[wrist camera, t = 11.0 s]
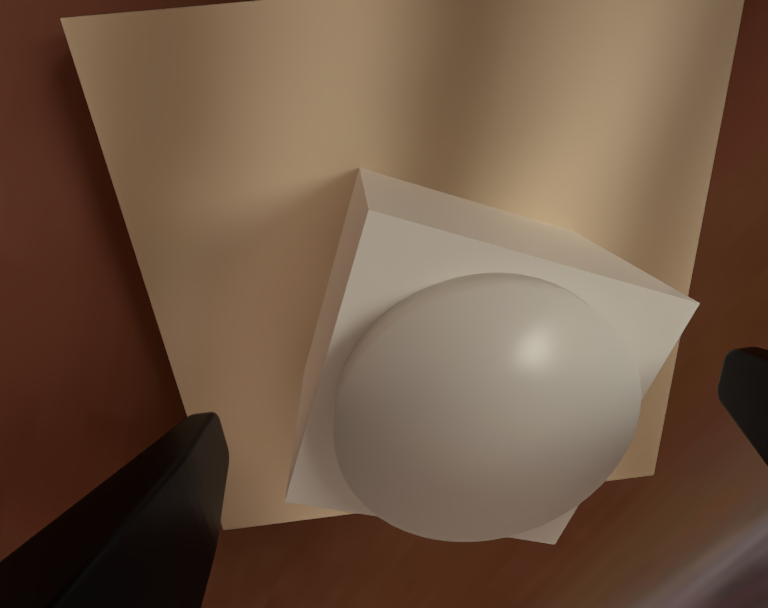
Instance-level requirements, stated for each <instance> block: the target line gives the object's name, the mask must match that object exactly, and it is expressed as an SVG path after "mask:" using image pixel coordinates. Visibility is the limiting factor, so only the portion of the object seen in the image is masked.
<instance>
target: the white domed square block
mask: <svg viewBox="0 0 768 608" xmlns="http://www.w3.org/2000/svg"><path fill="white" fill-rule="evenodd" d="M699 304H700V303H698V302H697V301H695V300H693V299H691V298H690V297H688V296H686V295H684V294H683V293H681V292H679V291H677V290H676V289H674V288H672V287H670V286H669V285H667V284H665V283H663V282H662V281H660V280H658V279H656V278H655V277H653V276H651V275H649V274H648V273H646V272H644V271H642V270H641V269H639V268H637V267H635V266H634V265H632V264H630V263H628V262H627V261H625V260H623V259H621V258H620V257H618V256H616V255H614V254H613V253H611V252H609V251H607V250H606V249H604V248H602V247H600V246H599V245H597V244H595V243H593V242H592V241H590V240H588V239H586V238H585V237H583V236H581V235H579V234H578V233H576V232H574V231H570V230H567V229H564V228H560V227H557V226H554V225H550V224H547V223H543V222H540V221H537V220H533V219H530V218H527V217H523V216H520V215H517V214H513V213H510V212H507V211H503V210H500V209H497V208H493V207H490V206H487V205H483V204H480V203H477V202H473V201H470V200H467V199H463V198H460V197H457V196H453V195H450V194H447V193H443V192H440V191H437V190H433V189H430V188H427V187H423V186H420V185H417V184H413V183H410V182H406V181H403V180H400V179H396V178H393V177H390V176H386V175H383V174H380V173H376V172H373V171H370V170H366V169H363V168H360V167H359V170H358V174H357V178H356V181H355V185H354V189H353V193H352V196H351V200H350V204H349V207H348V211H347V215H346V218H345V222H344V226H343V230H342V233H341V237H340V241H339V244H338V248H337V252H336V255H335V259H334V263H333V266H332V270H331V274H330V278H329V281H328V285H327V289H326V292H325V296H324V300H323V303H322V307H321V311H320V315H319V318H318V322H317V326H316V329H315V333H314V337H313V340H312V344H311V348H310V351H309V355H308V359H307V363H306V366H305V370H304V375H303V382H302V389H301V395H300V402H299V409H298V416H297V422H296V429H295V436H294V442H293V449H292V456H291V463H290V469H289V476H288V483H287V489H286V496H285V502H289V503H295V504H302V505H308V506H314V507H321V508H327V509H333V510H340V511H346V512H352V513H359V514H365V515H371V516H378V517H379V518H381V519H382V520H384V521H386V522H387V523H389V524H391V525H393V526H395V527H397V528H399V529H401V530H403V531H406V532H409V533H412V534H415V535H418V536H421V537H426V538H431V539H435V540H443V541H453V542H476V541H487V540H494V539H499V538H505V537H511V538H517V539H523V540H530V541H536V542H542V543H549V544H555V543H556V542H557V540H558V538H559V537H560V535H561V533H562V532H563V530H564V528H565V527H566V525H567V523H568V522H569V520H570V518H571V517H572V515H573V513H574V512H575V510H576V508H577V507H578V505H579V504H580V503H581V502H583V501H584V500H585V499H587V498H588V497H589V496H590V495H591V494H592V493H593V492H594V491H596V490H597V489H598V488H599V487H600V486H601V485H602V484H603V483H604V481H605V480H606V479H607V478H608V477H609V476H610V475H611V474H612V472H613V471H614V470H615V468H616V467H617V465H618V464H619V462H620V461H621V460H622V458H623V456H624V454H625V453H626V451H627V449H628V447H629V445H630V443H631V441H632V438H633V435H634V433H635V430H636V428H637V423H638V419H639V414H640V408H641V400H642V399H643V397H644V395H645V394H646V392H647V390H648V389H649V387H650V385H651V384H652V382H653V380H654V379H655V377H656V375H657V374H658V372H659V371H660V369H661V367H662V366H663V364H664V362H665V361H666V359H667V357H668V356H669V354H670V352H671V351H672V349H673V347H674V346H675V344H676V342H677V341H678V339H679V337H680V336H681V334H682V332H683V331H684V329H685V327H686V326H687V324H688V322H689V321H690V319H691V317H692V316H693V314H694V312H695V311H696V309H697V307H698V306H699Z"/></svg>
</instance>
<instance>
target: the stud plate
mask: <svg viewBox="0 0 768 608" xmlns="http://www.w3.org/2000/svg"><path fill="white" fill-rule="evenodd" d="M743 5H744V0H259V1H247V2H236V3H225V4H214V5H203V6H191V7H180V8H169V9H158V10H147V11H135V12H124V13H113V14H102V15H90V16H79V17H68V18H60V20H61V23H62V26H63V29H64V32H65V35H66V39H67V42H68V45H69V48H70V51H71V54H72V57H73V60H74V64H75V67H76V70H77V73H78V76H79V79H80V82H81V86H82V89H83V92H84V95H85V98H86V101H87V104H88V107H89V111H90V114H91V117H92V120H93V123H94V126H95V129H96V132H97V136H98V139H99V142H100V145H101V148H102V151H103V154H104V158H105V161H106V164H107V167H108V170H109V173H110V176H111V179H112V183H113V186H114V189H115V192H116V195H117V198H118V201H119V205H120V208H121V211H122V214H123V217H124V220H125V223H126V226H127V230H128V233H129V236H130V239H131V242H132V245H133V248H134V251H135V255H136V258H137V261H138V264H139V267H140V270H141V273H142V277H143V280H144V283H145V286H146V289H147V292H148V295H149V298H150V302H151V305H152V308H153V311H154V314H155V317H156V320H157V323H158V327H159V330H160V333H161V336H162V339H163V342H164V345H165V349H166V352H167V355H168V358H169V361H170V364H171V367H172V370H173V374H174V377H175V380H176V383H177V386H178V389H179V392H180V396H181V399H182V402H183V405H184V408H185V411H186V414H187V417H188V416H190V415H192V414H197V413H205V412H215V413H216V414H217V415H218V416H219V418H220V421H221V425H222V428H223V432H224V435H225V439H226V442H227V446H228V450H229V467H228V474H227V481H226V487H225V494H224V501H223V508H222V514H221V524H222V527H223V530H230V529H238V528H245V527H253V526H261V525H269V524H276V523H284V522H292V521H300V520H308V519H315V518H323V517H331V516H339V515H346V514H354V513H352V512H346V511H340V510H333V509H327V508H321V507H314V506H308V505H302V504H295V503H289V502H285V496H286V489H287V483H288V476H289V469H290V463H291V456H292V449H293V442H294V436H295V429H296V422H297V416H298V409H299V402H300V395H301V389H302V382H303V375H304V370H305V366H306V363H307V359H308V355H309V351H310V348H311V344H312V340H313V337H314V333H315V329H316V326H317V322H318V318H319V315H320V311H321V307H322V303H323V300H324V296H325V292H326V289H327V285H328V281H329V278H330V274H331V270H332V266H333V263H334V259H335V255H336V252H337V248H338V244H339V241H340V237H341V233H342V230H343V226H344V222H345V218H346V215H347V211H348V207H349V204H350V200H351V196H352V193H353V189H354V185H355V181H356V178H357V174H358V170H359V167H360V168H363V169H366V170H370V171H373V172H376V173H380V174H383V175H386V176H390V177H393V178H396V179H400V180H403V181H406V182H410V183H413V184H417V185H420V186H423V187H427V188H430V189H433V190H437V191H440V192H443V193H447V194H450V195H453V196H457V197H460V198H463V199H467V200H470V201H473V202H477V203H480V204H483V205H487V206H490V207H493V208H497V209H500V210H503V211H507V212H510V213H513V214H517V215H520V216H523V217H527V218H530V219H533V220H537V221H540V222H543V223H547V224H550V225H554V226H557V227H560V228H564V229H567V230H570V231H574V232H576V233H578V234H579V235H581V236H583V237H585V238H586V239H588V240H590V241H592V242H593V243H595V244H597V245H599V246H600V247H602V248H604V249H606V250H607V251H609V252H611V253H613V254H614V255H616V256H618V257H620V258H621V259H623V260H625V261H627V262H628V263H630V264H632V265H634V266H635V267H637V268H639V269H641V270H642V271H644V272H646V273H648V274H649V275H651V276H653V277H655V278H656V279H658V280H660V281H662V282H663V283H665V284H667V285H669V286H670V287H672V288H674V289H676V290H677V291H679V292H681V293H683V294H684V295H686V296H688V293H689V288H690V282H691V277H692V272H693V267H694V261H695V256H696V251H697V246H698V240H699V235H700V230H701V225H702V220H703V214H704V209H705V204H706V199H707V193H708V188H709V183H710V178H711V172H712V167H713V162H714V157H715V152H716V146H717V141H718V136H719V131H720V125H721V120H722V115H723V110H724V104H725V99H726V94H727V89H728V84H729V78H730V73H731V68H732V63H733V57H734V52H735V47H736V42H737V36H738V31H739V26H740V21H741V16H742V10H743ZM679 340H680V337H679V339H678V341H677V342H676V344H675V346H674V347H673V349H672V351H671V352H670V354H669V356H668V357H667V359H666V361H665V362H664V364H663V366H662V367H661V369H660V371H659V372H658V374H657V375H656V377H655V379H654V380H653V382H652V384H651V385H650V387H649V389H648V390H647V392H646V394H645V395H644V397H643V399H642V400H641V408H640V414H639V419H638V423H637V428H636V430H635V433H634V435H633V438H632V441H631V443H630V445H629V447H628V449H627V451H626V453H625V454H624V456H623V458H622V460H621V461H620V462H619V464H618V465H617V467H616V468H615V470H614V471H613V472H612V474H611V475H610V476H609V477H608V478H607V479H606V480H605V481H611V480H618V479H626V478H634V477H642V476H650V475H654V471H655V465H656V460H657V455H658V450H659V444H660V439H661V434H662V429H663V424H664V418H665V413H666V408H667V403H668V397H669V392H670V387H671V382H672V376H673V371H674V366H675V361H676V356H677V350H678V345H679Z"/></svg>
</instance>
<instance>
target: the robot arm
mask: <svg viewBox="0 0 768 608" xmlns="http://www.w3.org/2000/svg"><path fill="white" fill-rule="evenodd" d="M717 394H718V398H719V400H720V402H721V403H722V405H723V406H724V408H725V409H726V410H727V412H728V413H729V414H730V416H731V417H732V418H733V420H734V421H735V422H736V424H737V425H738V426H739V428H740V429H741V431H742V432H743V433H744V435H745V436H746V437H747V439H748V440H749V441H750V443H751V444H752V445H753V447H754V448H755V449H756V451H757V452H758V453H759V455H760V456H761V457H762V459H763V460H764V461H765V463H766V464H767V465H768V350H766V349H762V348H758V347H747V348H739V349H733V350H731V351H729V352H728V353H727V354H726V355H725V358H724V362H723V366H722V370H721V375H720V379H719V383H718V388H717ZM228 467H229V450H228V446H227V442H226V439H225V435H224V432H223V428H222V425H221V421H220V418H219V416H218V415H217V414H216V413H215V412H205V413H197V414H192V415H190V416H188V417H187V418H186V419H184V420H183V421H182V422H180V423H179V424H178V425H177V426H175V427H174V428H173V429H171V430H170V431H169V432H168V433H166V434H165V435H164V436H162V437H161V438H160V439H158V440H157V441H156V442H155V443H153V444H152V445H151V446H149V447H148V448H147V449H146V450H144V451H143V452H142V453H140V454H139V455H138V456H136V457H135V458H134V459H133V460H131V461H130V462H129V463H127V464H126V465H125V466H124V467H122V468H121V469H120V470H118V471H117V472H116V473H114V474H113V475H112V476H111V477H109V478H108V479H107V480H105V481H104V482H103V483H102V484H100V485H99V486H98V487H96V488H95V489H94V490H92V491H91V492H90V493H89V494H87V495H86V496H85V497H83V498H82V499H81V500H80V501H78V502H77V503H76V504H74V505H73V506H72V507H70V508H69V509H68V510H67V511H65V512H64V513H63V514H61V515H60V516H59V517H58V518H56V519H55V520H54V521H52V522H51V523H50V524H48V525H47V526H46V527H45V528H43V529H42V530H41V531H39V532H38V533H37V534H35V535H34V536H33V537H32V538H30V539H29V540H28V541H26V542H25V543H24V544H23V545H21V546H20V547H19V548H17V549H16V550H15V551H13V552H12V553H11V554H10V555H8V556H7V557H6V558H4V559H3V560H2V561H1V562H0V608H201V605H202V601H203V598H204V594H205V590H206V586H207V583H208V579H209V575H210V571H211V567H212V564H213V559H214V555H215V551H216V546H217V540H218V535H219V528H220V521H221V514H222V508H223V501H224V494H225V487H226V481H227V474H228Z"/></svg>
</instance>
